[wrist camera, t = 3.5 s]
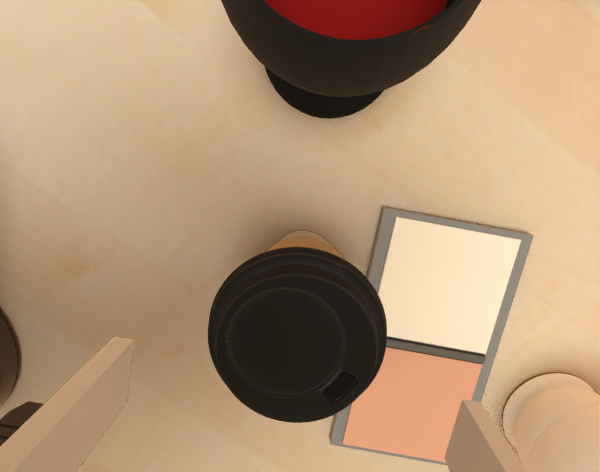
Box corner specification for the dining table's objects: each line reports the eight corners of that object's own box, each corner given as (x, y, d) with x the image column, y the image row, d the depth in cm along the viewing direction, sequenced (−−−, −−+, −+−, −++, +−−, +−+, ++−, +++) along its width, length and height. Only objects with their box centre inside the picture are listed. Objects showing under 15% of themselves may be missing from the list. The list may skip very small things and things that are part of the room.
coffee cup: (342, 326, 35) (364, 455, 21) (236, 301, 35) (183, 413, 20) (372, 223, 33) (419, 284, 19) (259, 196, 33) (218, 236, 18)
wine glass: (428, 27, 30) (647, -195, 10) (346, 145, 32) (399, 146, 12) (313, -62, 29) (316, -493, 9) (235, 66, 31) (105, -68, 11)
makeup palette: (329, 436, 38) (330, 448, 36) (382, 206, 33) (385, 208, 31) (456, 459, 38) (461, 471, 36) (527, 232, 33) (537, 236, 32)
